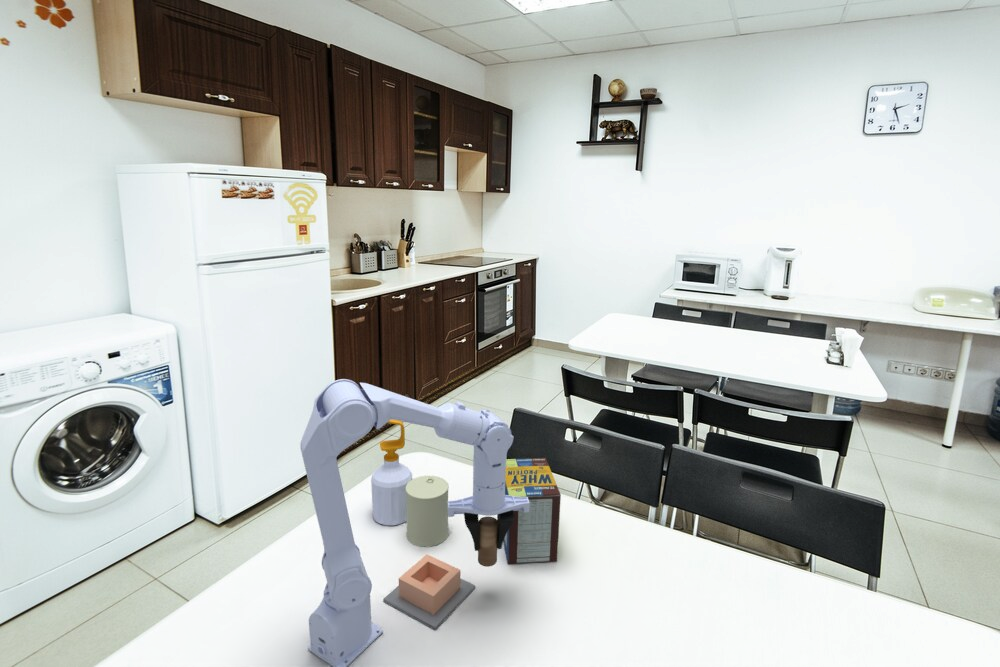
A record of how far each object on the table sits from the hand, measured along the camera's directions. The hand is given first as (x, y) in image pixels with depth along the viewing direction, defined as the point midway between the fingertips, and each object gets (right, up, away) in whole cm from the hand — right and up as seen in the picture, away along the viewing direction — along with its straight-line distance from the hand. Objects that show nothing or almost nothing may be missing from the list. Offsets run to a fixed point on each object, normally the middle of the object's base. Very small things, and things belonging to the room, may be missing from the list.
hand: (487, 546), depth 98 cm
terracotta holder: (-11, -10, +1) cm, 14 cm away
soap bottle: (-22, -3, +25) cm, 34 cm away
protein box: (+8, -6, +18) cm, 20 cm away
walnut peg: (0, -3, +1) cm, 3 cm away
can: (-14, -5, +19) cm, 24 cm away
